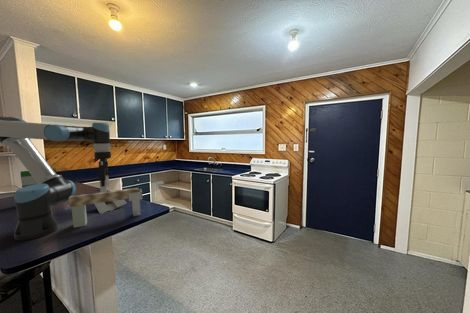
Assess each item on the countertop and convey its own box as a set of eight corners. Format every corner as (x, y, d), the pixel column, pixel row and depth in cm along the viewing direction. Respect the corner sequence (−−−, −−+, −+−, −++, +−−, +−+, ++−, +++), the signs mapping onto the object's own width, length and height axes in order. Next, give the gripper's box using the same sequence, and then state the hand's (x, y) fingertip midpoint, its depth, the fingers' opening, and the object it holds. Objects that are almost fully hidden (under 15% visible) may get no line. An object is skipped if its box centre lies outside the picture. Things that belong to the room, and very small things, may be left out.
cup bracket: (130, 217, 112) (128, 193, 110) (130, 213, 118) (128, 190, 117) (143, 215, 115) (142, 191, 114) (142, 211, 122) (141, 188, 120)
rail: (69, 207, 99) (68, 197, 99) (71, 205, 103) (70, 196, 102) (138, 197, 115) (138, 189, 114) (138, 195, 118) (137, 187, 117)
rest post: (73, 227, 100) (71, 207, 99) (75, 224, 105) (73, 204, 104) (85, 225, 103) (83, 205, 102) (87, 222, 107) (85, 202, 106)
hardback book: (24, 206, 133) (20, 172, 131) (24, 204, 138) (20, 171, 136) (59, 200, 146) (55, 169, 144) (57, 198, 151) (54, 168, 149)
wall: (126, 209, 136) (117, 193, 141) (127, 202, 131) (118, 186, 136) (100, 221, 124) (90, 203, 129) (100, 214, 119) (90, 195, 124)
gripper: (108, 152, 97) (111, 193, 99) (112, 149, 119) (114, 183, 121) (90, 153, 93) (93, 196, 95) (97, 150, 115) (99, 185, 117)
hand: (105, 189), depth 108 cm, fingers open, 13 cm apart
